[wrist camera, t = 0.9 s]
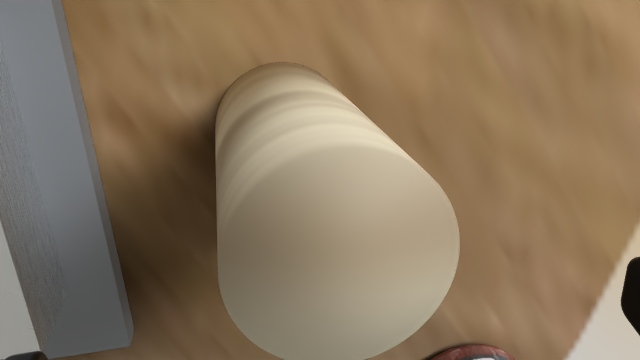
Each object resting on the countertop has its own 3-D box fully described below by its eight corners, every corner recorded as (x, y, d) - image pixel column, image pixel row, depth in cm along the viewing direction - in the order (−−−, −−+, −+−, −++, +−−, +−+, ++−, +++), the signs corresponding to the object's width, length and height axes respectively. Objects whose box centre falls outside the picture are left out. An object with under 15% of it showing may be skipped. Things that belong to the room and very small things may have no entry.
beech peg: (347, 181, 19) (454, 345, 10) (223, 196, 18) (232, 384, 10) (343, 56, 17) (466, 134, 9) (207, 67, 16) (201, 163, 8)
